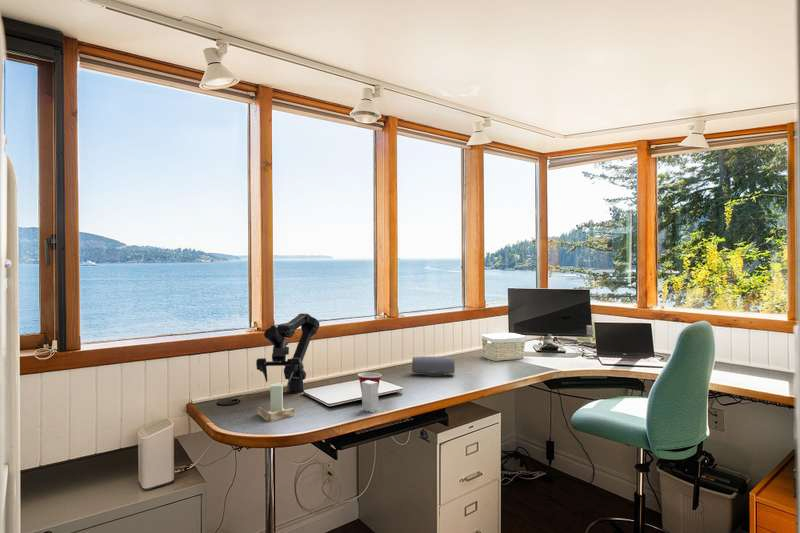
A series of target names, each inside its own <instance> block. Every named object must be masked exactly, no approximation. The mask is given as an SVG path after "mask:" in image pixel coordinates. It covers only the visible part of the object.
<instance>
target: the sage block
mask: <svg viewBox="0 0 800 533" xmlns="http://www.w3.org/2000/svg"><path fill="white" fill-rule="evenodd" d="M283 385H284V384H283V382H276V383H271V384H270V387H269V388H270V390H269V391H270V393H269V394H270V395H269V396H270V411H271V413H272V412H277V411H282V410H283V409H284V397H283V396H284V395H283V394H284V393H283V392H284V391H283V390H284V388H283V387H284V386H283Z"/></svg>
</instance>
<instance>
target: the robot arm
mask: <svg viewBox="0 0 800 533" xmlns="http://www.w3.org/2000/svg"><path fill="white" fill-rule="evenodd" d="M320 324H321V323H320V322H319V320H318V319H317V318H315V317H313V316H311V314H308V313H299V314H298V315H297V316H296V317H294V318H293V319H291V320H289V321H288V322H285V323H280V324H278V325H277V326H276V325H271V326H270V327H268V328H267V329H266V330H265V331H264V333H263V337H264V338H265V339H266V340H267V342H269V344H271V345H273V348H272V353H271V360H270V361H267V358H265V357H264V358H262V357H261V358H259V357H258V358H257V359H256V361H255V363H256V364H255V366H256V370H258V371H259V372H262V374H263V377H264V380H265V382H266V383H268V370H267V369H268V368H267V367H274V366H275V367H276V366H277V367H280V366H281V367H284V368H283V374H284V375H283V376H284V378H285V380H288V381H287V386H286V387H287V389H286V391H287V393H290V394H291V395H292V394H293V395H294V394H298V393H303V392H302V391H304V390H305V389H304V380H305V379H306V378H307V372H306V371H305V370H304V367H305V366H304V364H303V361H304V358H305V355H306V353H307V350H308V347H309V344H310V342H311V339H312V337H313V336H314V335H316V334H317V332H318V330H319V328H320ZM298 328H300V329H301V335H300V338H299V340H298V343H297V346H296V348H295V351H294V354H293V355H292V356H293V357H291V358H288V359H287V360H286V358H287V355H288V356H289V354H290V347H289V346H287V345H289V343H288V341H287V339H286V338H288V339H290V338H292V337H293V336H294V335H295V332H296V330H298Z"/></svg>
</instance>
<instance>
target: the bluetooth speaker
mask: <svg viewBox="0 0 800 533" xmlns="http://www.w3.org/2000/svg"><path fill="white" fill-rule="evenodd" d="M455 368H456V367H455V357H451V356H413V357H412V365H411V371H412V372H411V373H414V374H421V375H424V376H427V375H428V376H429V377H430V376H432V377H433V376H437V377H438V376H439V377H443V376H444V375H445V374H446V375H450V374H455Z"/></svg>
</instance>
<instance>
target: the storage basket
mask: <svg viewBox="0 0 800 533" xmlns="http://www.w3.org/2000/svg"><path fill="white" fill-rule="evenodd" d="M481 346H482V357H483V358H485V359H488V360H490V361H493V362H499V361H506V360H507V361H509V360H510V361H511V360H513V361H514V360H521V359H524V354H525V347H526V335H524V334H523V335H522V334H519V333H515V332H501V333H500V332H498V333H487V334H484V333H483V334H481Z"/></svg>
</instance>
